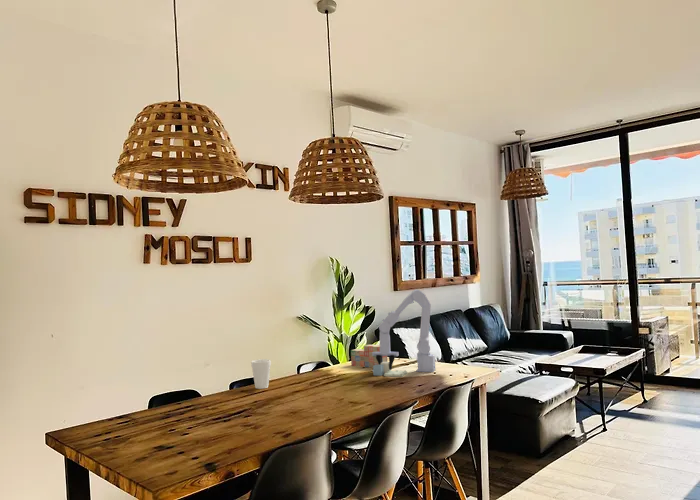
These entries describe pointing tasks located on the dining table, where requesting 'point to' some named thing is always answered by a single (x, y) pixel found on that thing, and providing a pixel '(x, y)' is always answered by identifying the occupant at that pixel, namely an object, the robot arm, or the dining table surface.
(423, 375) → the dining table surface
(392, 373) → the build plate
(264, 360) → the foam cup
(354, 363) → the stack of blocks
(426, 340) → the robot arm
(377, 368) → the brick blue
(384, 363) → the brick cream
